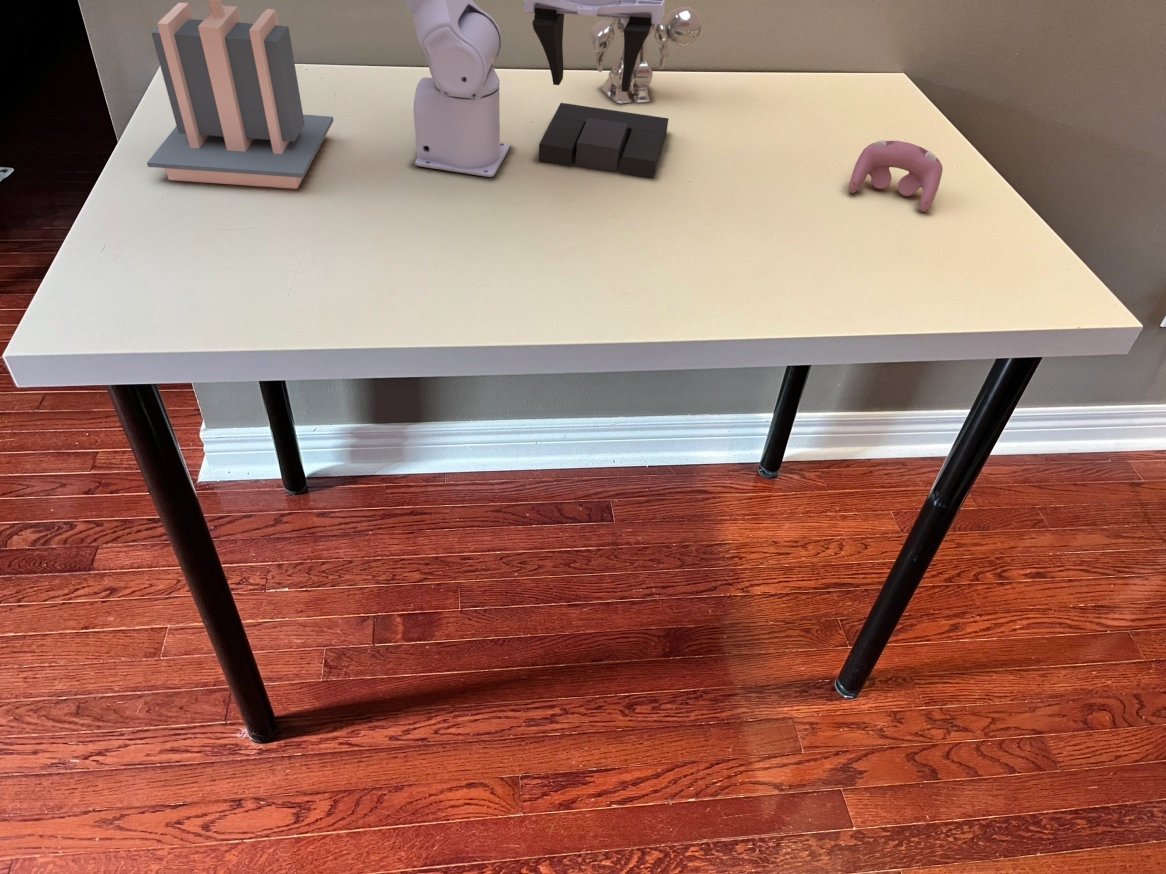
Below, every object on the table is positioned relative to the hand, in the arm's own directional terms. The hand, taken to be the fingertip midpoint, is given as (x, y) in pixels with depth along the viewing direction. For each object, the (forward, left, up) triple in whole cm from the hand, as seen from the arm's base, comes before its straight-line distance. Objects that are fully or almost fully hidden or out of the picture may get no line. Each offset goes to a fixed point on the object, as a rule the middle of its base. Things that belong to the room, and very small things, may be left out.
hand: (592, 84), depth 97 cm
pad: (+1, +4, -10) cm, 11 cm away
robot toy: (+3, +24, -11) cm, 26 cm away
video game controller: (+36, +6, -11) cm, 38 cm away
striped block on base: (-38, -9, -11) cm, 40 cm away
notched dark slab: (+1, +7, -10) cm, 13 cm away
